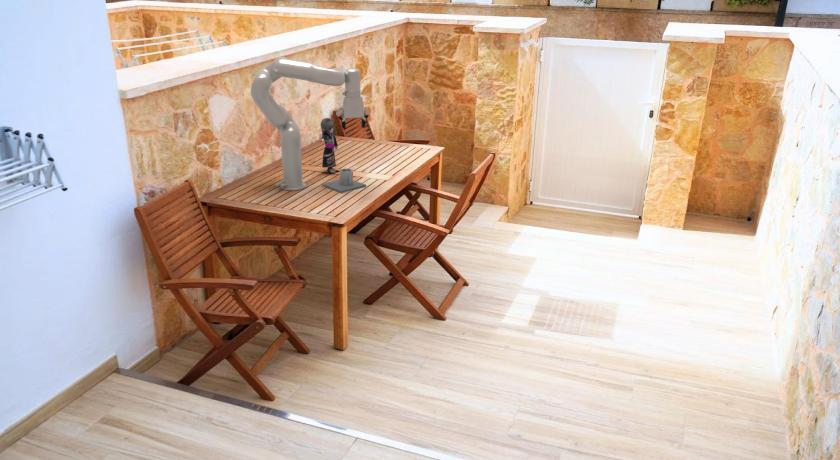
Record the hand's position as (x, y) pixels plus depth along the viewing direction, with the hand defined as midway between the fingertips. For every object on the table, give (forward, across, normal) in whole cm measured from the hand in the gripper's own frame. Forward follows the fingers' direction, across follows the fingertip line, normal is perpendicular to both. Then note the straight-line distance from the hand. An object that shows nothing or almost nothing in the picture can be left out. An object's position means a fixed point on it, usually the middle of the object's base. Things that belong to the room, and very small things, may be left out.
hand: (353, 128), depth 339 cm
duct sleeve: (+28, -4, -1) cm, 29 cm away
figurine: (+30, -10, +22) cm, 38 cm away
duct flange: (+29, -6, -2) cm, 30 cm away
